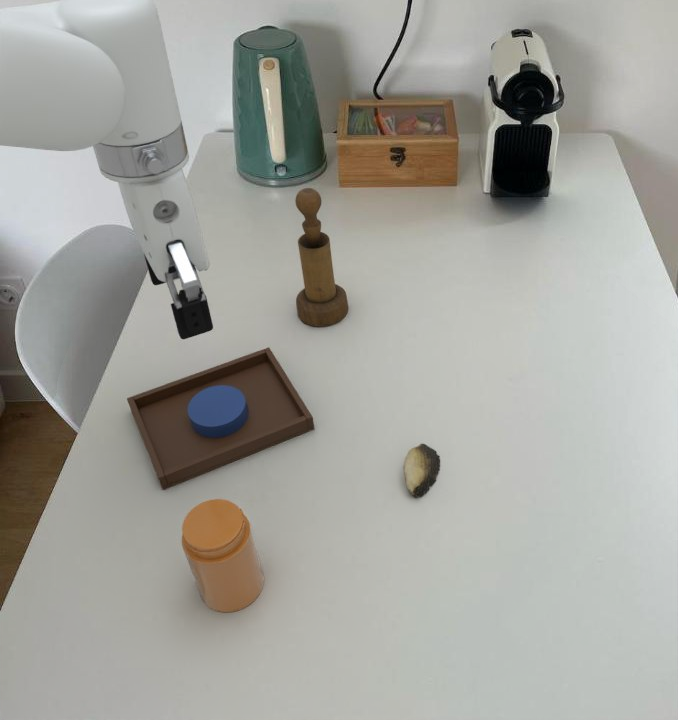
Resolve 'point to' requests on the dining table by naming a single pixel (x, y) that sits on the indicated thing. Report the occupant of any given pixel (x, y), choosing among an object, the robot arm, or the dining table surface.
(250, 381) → the tray
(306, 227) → the mortar and pestle
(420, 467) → the nut kernel
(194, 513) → the jar
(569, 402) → the dining table surface
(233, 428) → the lid
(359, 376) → the dining table surface
